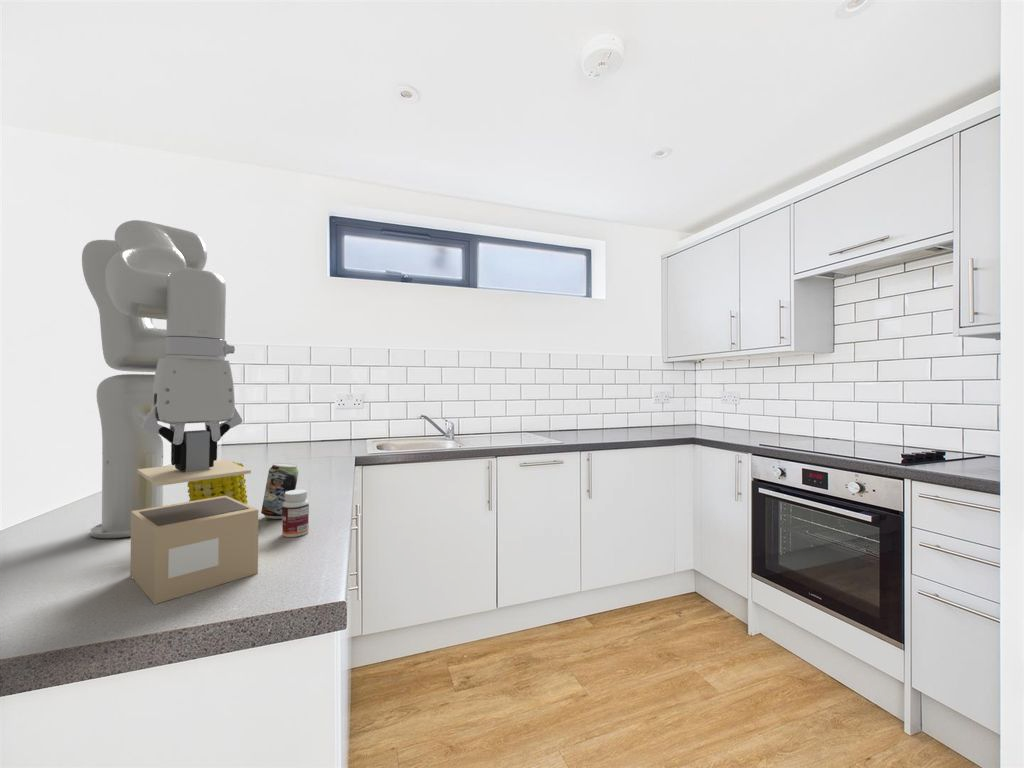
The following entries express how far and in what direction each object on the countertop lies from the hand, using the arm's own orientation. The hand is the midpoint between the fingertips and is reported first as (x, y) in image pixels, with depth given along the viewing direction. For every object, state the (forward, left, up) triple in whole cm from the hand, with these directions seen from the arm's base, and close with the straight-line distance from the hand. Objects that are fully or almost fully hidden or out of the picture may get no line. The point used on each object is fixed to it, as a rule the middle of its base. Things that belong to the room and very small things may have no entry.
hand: (194, 466), depth 70 cm
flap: (0, 0, -1) cm, 1 cm away
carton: (+1, 0, -17) cm, 17 cm away
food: (-18, +9, -17) cm, 26 cm away
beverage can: (-21, +22, -17) cm, 35 cm away
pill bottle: (-7, +19, -17) cm, 26 cm away
